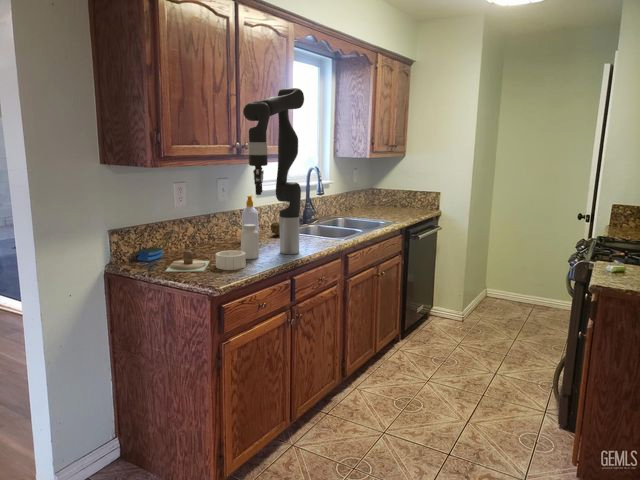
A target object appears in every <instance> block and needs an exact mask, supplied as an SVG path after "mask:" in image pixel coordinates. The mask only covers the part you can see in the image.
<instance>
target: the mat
mask: <svg viewBox="0 0 640 480" xmlns="http://www.w3.org/2000/svg"><path fill="white" fill-rule="evenodd" d="M175 261H176V260H174V261H173V262H175ZM204 261H205V262H206V266H204V267H202V268H198V269H191V270H178V269H173V268H171V264H170V265H169V266H168V267H167V268H166V270H164V273H203V272H205V271H206V269H207V267H208V265H209V264H210V260H204Z"/></svg>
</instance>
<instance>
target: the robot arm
mask: <svg viewBox="0 0 640 480" xmlns="http://www.w3.org/2000/svg"><path fill="white" fill-rule="evenodd" d="M304 103H305V95H304V92H303V90H302V89H301V88H298V87H288V88H287V87H285V88H280V89H279V91H278V92H277V96H271V97H268V98H266V99H263V100H259V101H258V100H257V101H253V102H249V103H247V104H245V106H244V107H243V113H242V114H243V116H244V118H245V119H246V120H247V121H250V122H257V124H256V126H253V127H250V128H249V130H248V165H249V166H250V167H254V169H253V172H252V173H253V181H254V186H255V195H256V196H261V195H262V193H263V184H264V182H263V181H264V169H263V167H265V166H266V167H267V166H268V144H267V129H268V127H269V126H268V125H269V122H270V119H271V118H270V117H272V116H274V115H276V114H277V115H278V118H277V119H278V138H277V174H276V175H277V176H276V182H275V197H276V199H277V201H279V202H283V203H288V207H286V208H283V209H281V210H279V223H280V236H279V253H280V254H283V255H296V254H300V212H301V199H302V198H301V197H302V195H301V194H302V189H301V185H300V184H299V183H298V182H293V181H288V175H289V170H290V168H291V167H292V165H293V163H294V162H295V160H296V158H297V156H298V153H299V138H298V135H297V133H296V131H295V129H294V127H293V125H292V124H291V121H290V117H289V110H299V109H301V108H302V107H303V105H304Z"/></svg>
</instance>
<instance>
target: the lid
mask: <svg viewBox="0 0 640 480" xmlns="http://www.w3.org/2000/svg"><path fill="white" fill-rule="evenodd" d="M182 254H183V255H182V257H183V259H182V260H181V259H180V260H174V261H175V262H174V261H172V262H171V263H170V265H171V268H173V269H178V270H191V269H198V268H202V267H204V266H206V262H205V261H206V260H202V259H193V258H194V257H193V251H192V250H183V253H182Z"/></svg>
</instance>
